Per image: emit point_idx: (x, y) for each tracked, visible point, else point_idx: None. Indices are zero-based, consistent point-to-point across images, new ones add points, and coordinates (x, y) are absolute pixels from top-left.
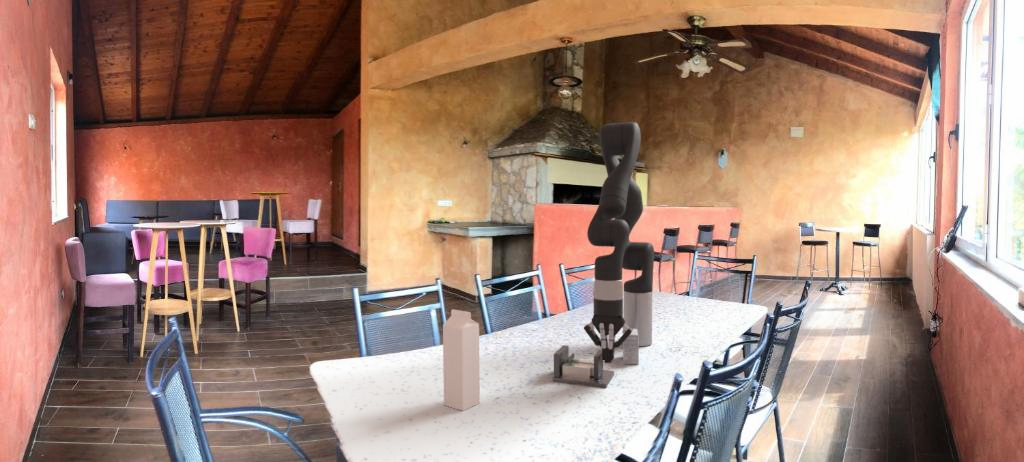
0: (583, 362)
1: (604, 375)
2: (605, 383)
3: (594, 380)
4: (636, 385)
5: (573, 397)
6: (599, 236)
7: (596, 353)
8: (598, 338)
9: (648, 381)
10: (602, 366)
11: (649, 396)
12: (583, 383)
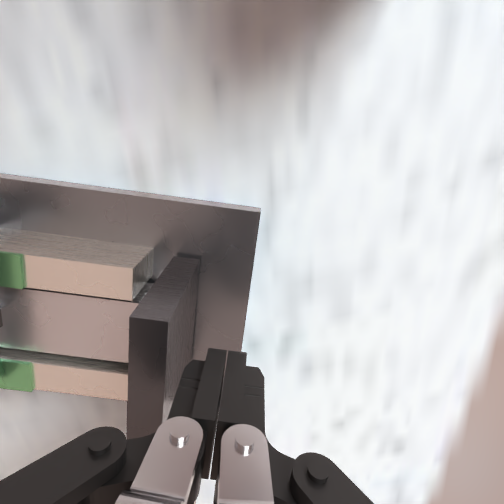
0: (62, 288)
1: (212, 298)
2: None
3: None
4: (371, 338)
5: None
6: None
7: (128, 400)
8: (80, 492)
9: (439, 272)
10: (190, 295)
11: (412, 441)
12: None
